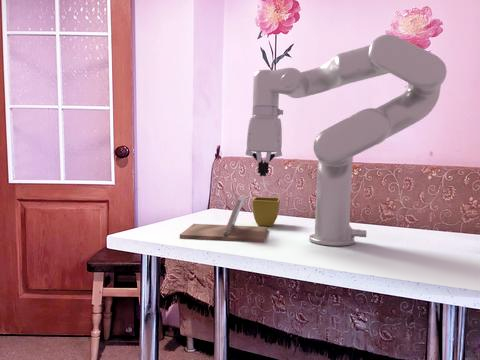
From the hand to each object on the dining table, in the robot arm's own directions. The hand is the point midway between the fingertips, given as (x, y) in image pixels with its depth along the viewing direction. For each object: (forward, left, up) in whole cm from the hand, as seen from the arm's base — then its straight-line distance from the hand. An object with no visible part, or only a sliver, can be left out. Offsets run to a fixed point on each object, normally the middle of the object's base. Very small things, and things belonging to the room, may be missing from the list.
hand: (263, 175), depth 129 cm
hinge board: (+11, 0, -18) cm, 21 cm away
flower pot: (0, -18, -18) cm, 26 cm away
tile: (+7, 0, -12) cm, 14 cm away
